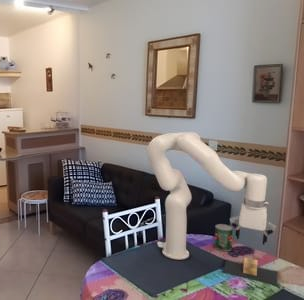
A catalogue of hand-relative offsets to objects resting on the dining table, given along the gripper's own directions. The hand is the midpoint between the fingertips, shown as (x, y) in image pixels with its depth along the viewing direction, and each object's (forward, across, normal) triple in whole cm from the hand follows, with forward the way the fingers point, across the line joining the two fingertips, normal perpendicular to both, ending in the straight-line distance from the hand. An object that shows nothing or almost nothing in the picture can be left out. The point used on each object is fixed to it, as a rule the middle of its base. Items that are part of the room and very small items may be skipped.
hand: (250, 240), depth 138 cm
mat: (+14, -1, 0) cm, 14 cm away
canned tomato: (+15, +12, -20) cm, 28 cm away
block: (+14, -1, 0) cm, 14 cm away
